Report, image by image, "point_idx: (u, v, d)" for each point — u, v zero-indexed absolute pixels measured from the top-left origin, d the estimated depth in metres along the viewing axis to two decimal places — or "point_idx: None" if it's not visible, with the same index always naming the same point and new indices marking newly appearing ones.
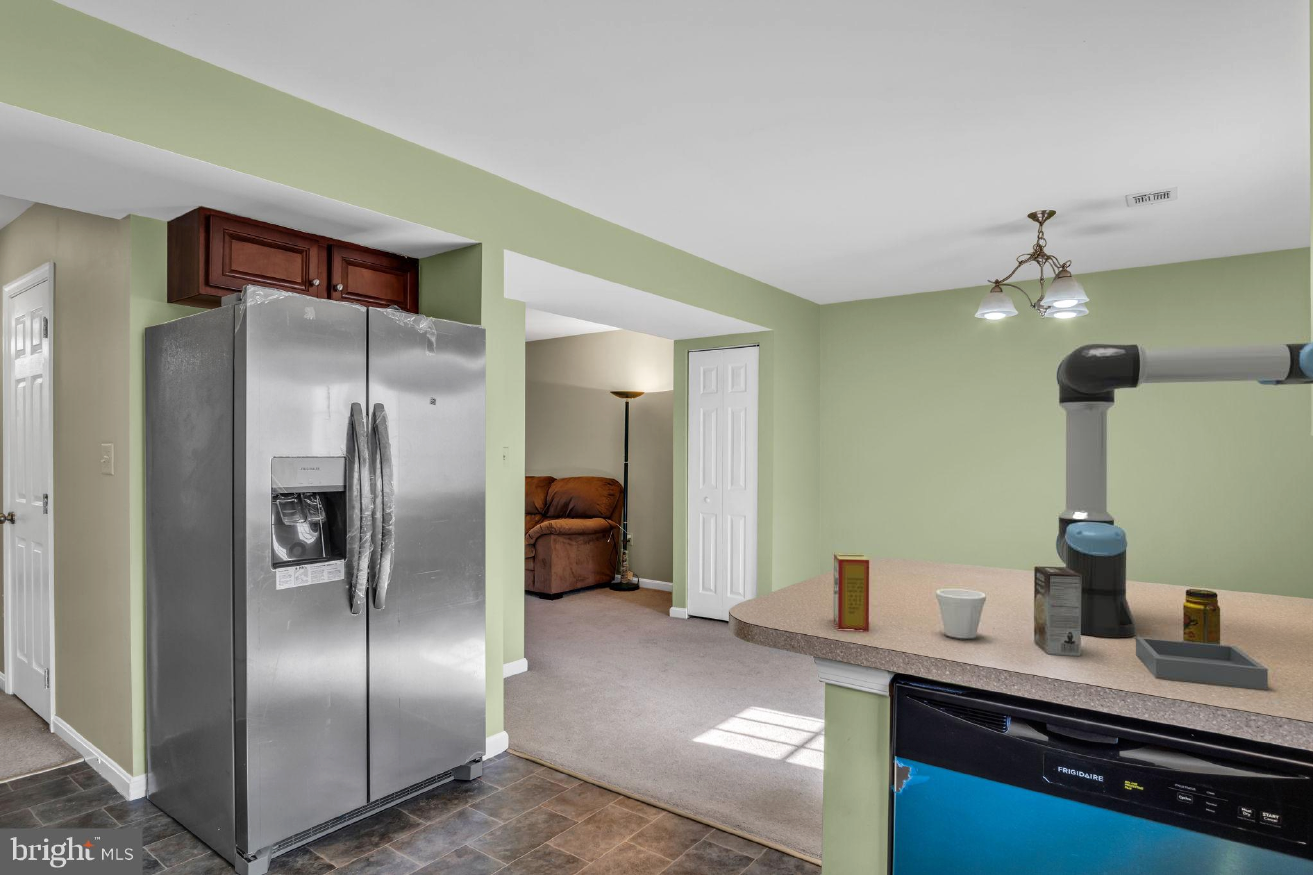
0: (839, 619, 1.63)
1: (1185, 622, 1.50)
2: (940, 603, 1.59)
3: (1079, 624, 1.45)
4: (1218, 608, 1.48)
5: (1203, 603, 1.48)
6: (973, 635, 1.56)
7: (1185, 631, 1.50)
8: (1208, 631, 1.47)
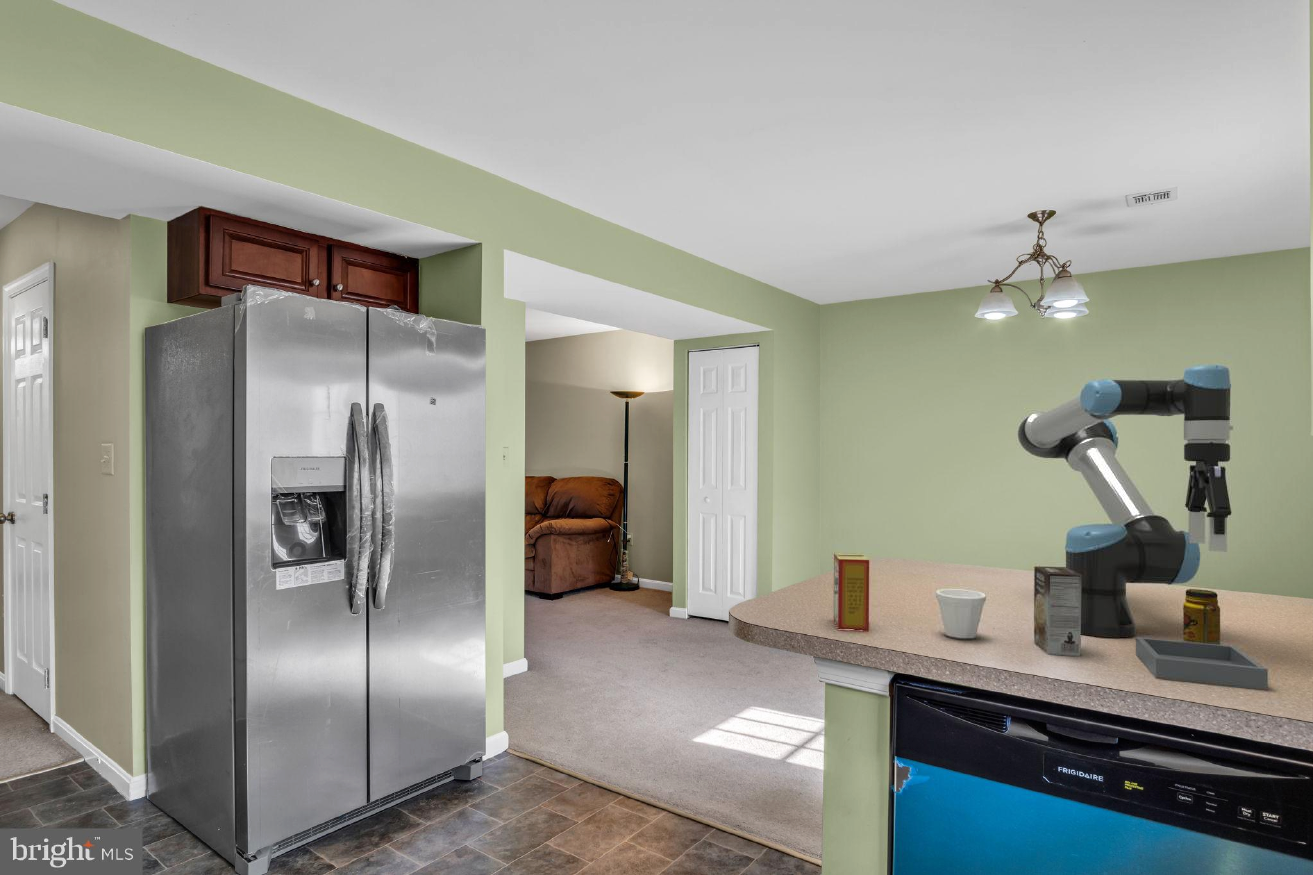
0: (839, 619, 1.63)
1: (1185, 622, 1.50)
2: (940, 603, 1.59)
3: (1079, 624, 1.45)
4: (1218, 608, 1.48)
5: (1203, 603, 1.48)
6: (973, 635, 1.56)
7: (1185, 631, 1.50)
8: (1208, 631, 1.47)
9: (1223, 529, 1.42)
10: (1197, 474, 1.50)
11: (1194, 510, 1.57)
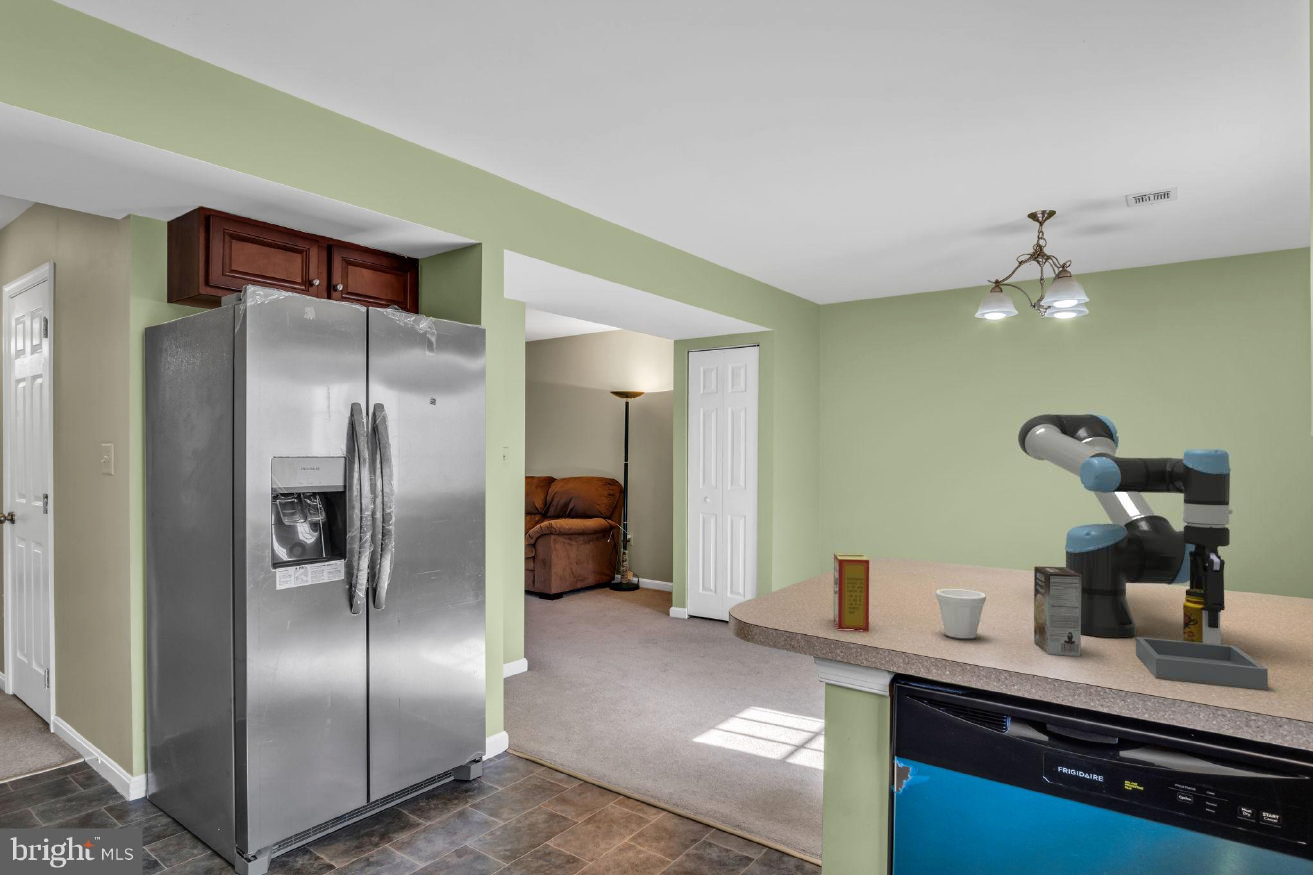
0: (839, 619, 1.63)
1: (1185, 622, 1.51)
2: (940, 603, 1.59)
3: (1079, 624, 1.45)
4: None
5: (1203, 602, 1.48)
6: (973, 635, 1.56)
7: (1185, 631, 1.51)
8: None
9: (1217, 623, 1.45)
10: (1196, 558, 1.50)
11: None
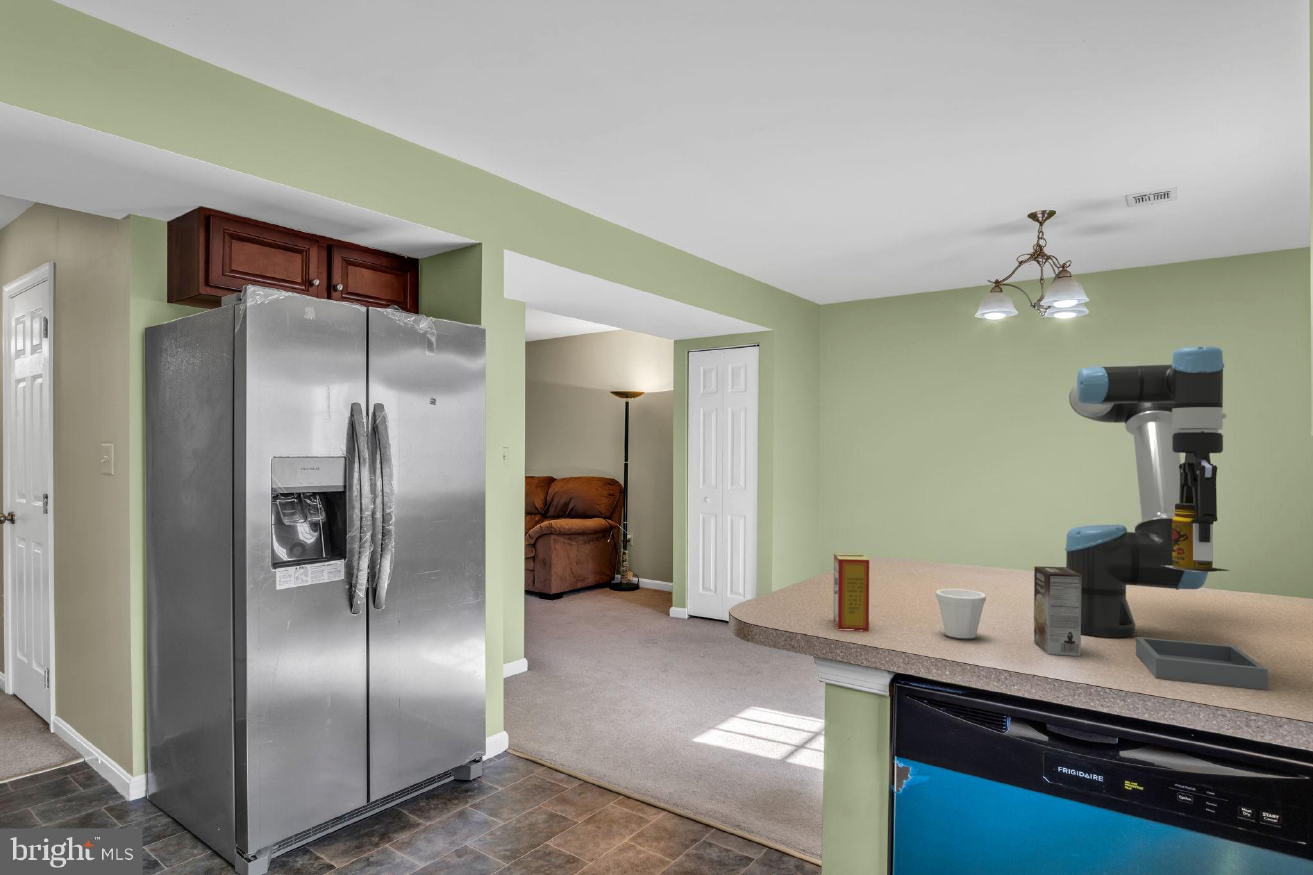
0: (839, 619, 1.63)
1: (1174, 538, 1.37)
2: (940, 603, 1.59)
3: (1079, 624, 1.45)
4: None
5: (1194, 515, 1.34)
6: (973, 635, 1.56)
7: (1174, 548, 1.37)
8: None
9: (1208, 536, 1.31)
10: (1186, 467, 1.35)
11: None
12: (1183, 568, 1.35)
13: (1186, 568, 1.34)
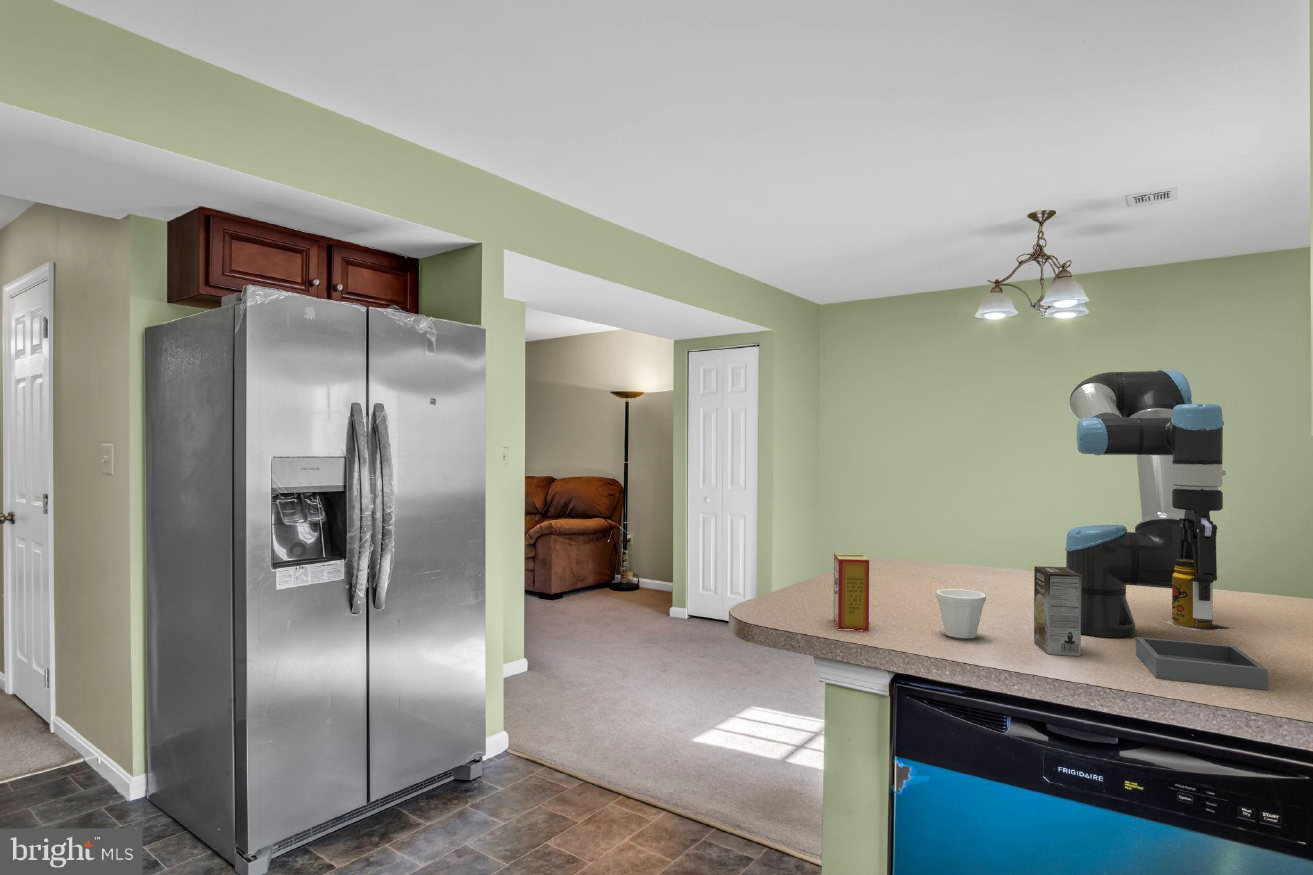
0: (839, 619, 1.63)
1: (1174, 595, 1.36)
2: (940, 603, 1.59)
3: (1079, 624, 1.45)
4: None
5: (1194, 573, 1.34)
6: (973, 635, 1.56)
7: (1174, 605, 1.36)
8: None
9: (1208, 595, 1.31)
10: (1186, 524, 1.35)
11: None
12: (1183, 625, 1.34)
13: (1186, 625, 1.34)
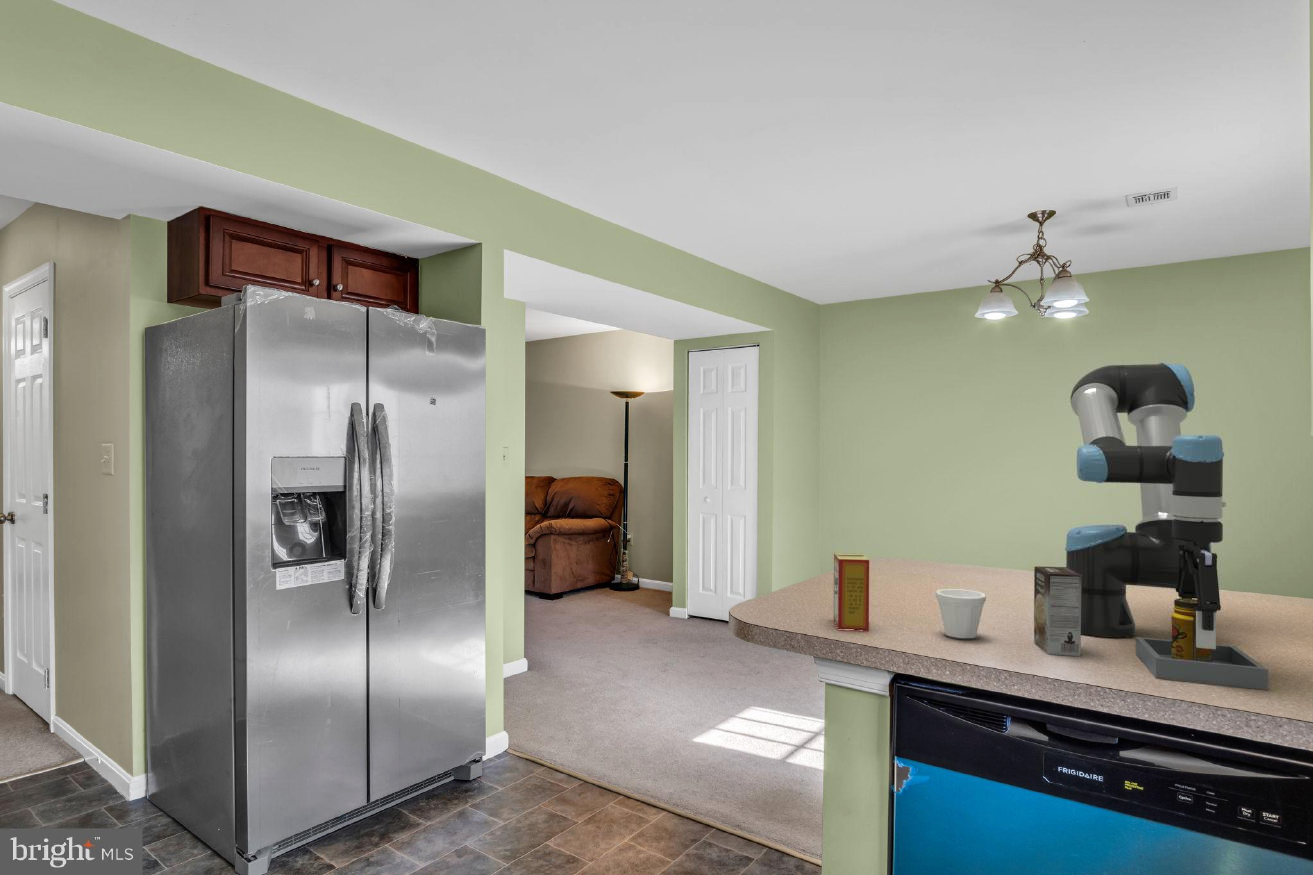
0: (839, 619, 1.63)
1: (1173, 635, 1.36)
2: (940, 603, 1.59)
3: (1079, 624, 1.45)
4: None
5: (1193, 614, 1.34)
6: (973, 635, 1.56)
7: (1173, 645, 1.36)
8: None
9: (1212, 625, 1.29)
10: (1186, 555, 1.35)
11: (1185, 597, 1.41)
12: None
13: None
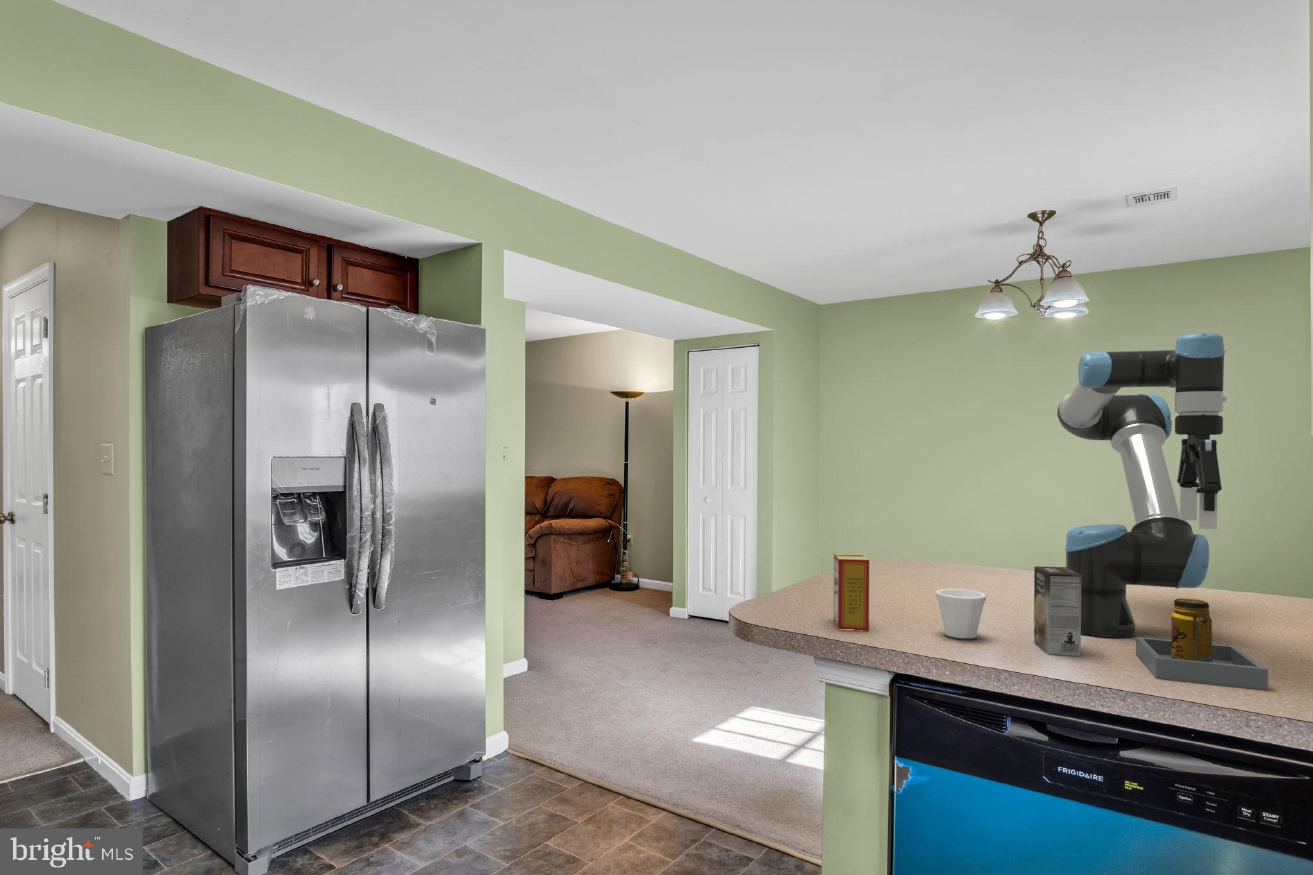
0: (839, 619, 1.63)
1: (1173, 635, 1.36)
2: (940, 603, 1.59)
3: (1079, 624, 1.45)
4: (1209, 620, 1.34)
5: (1193, 614, 1.34)
6: (973, 635, 1.56)
7: (1173, 645, 1.36)
8: (1198, 645, 1.33)
9: (1213, 505, 1.35)
10: (1188, 448, 1.43)
11: (1186, 486, 1.50)
12: None
13: None
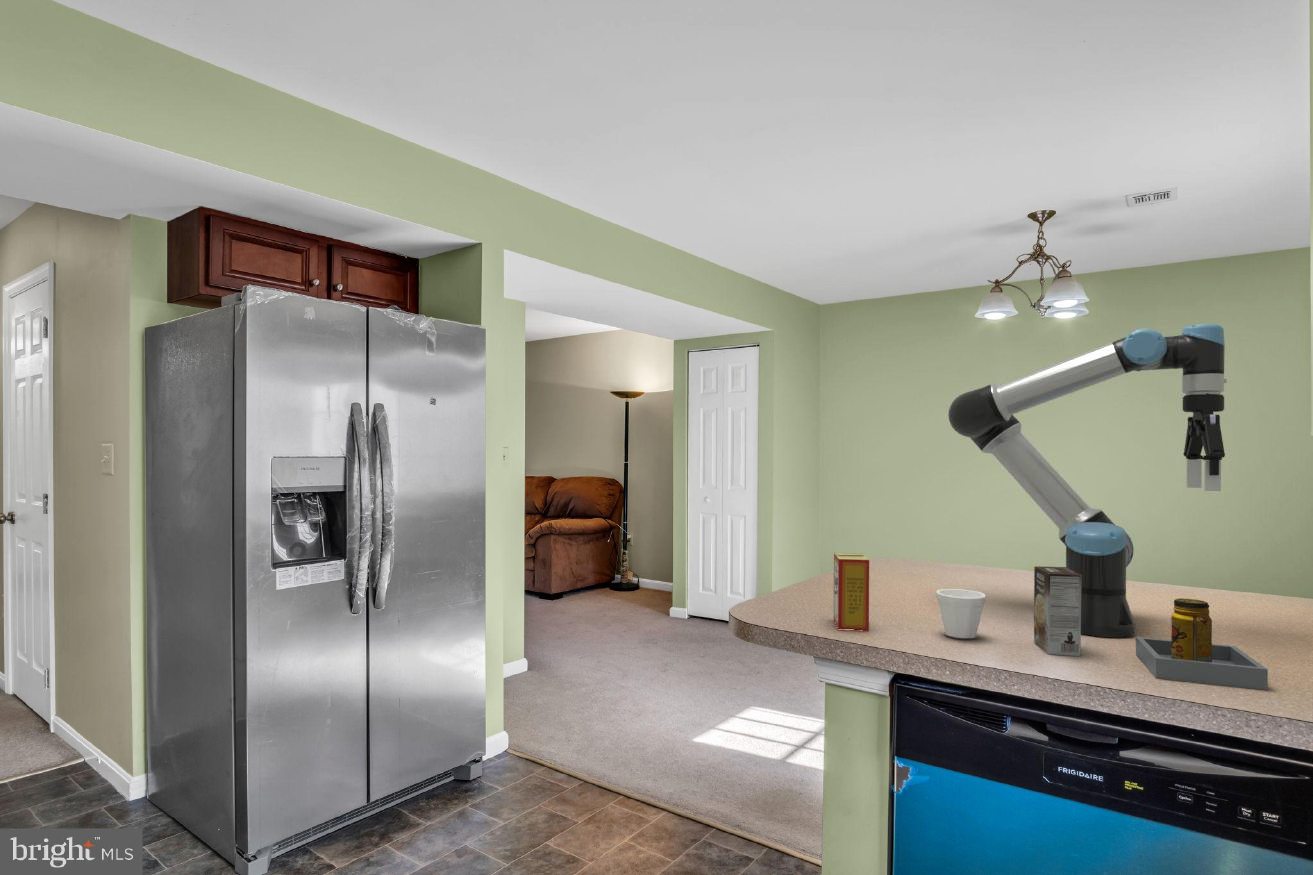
0: (839, 619, 1.63)
1: (1173, 635, 1.36)
2: (940, 603, 1.59)
3: (1079, 624, 1.45)
4: (1209, 620, 1.34)
5: (1193, 614, 1.34)
6: (973, 635, 1.56)
7: (1173, 645, 1.36)
8: (1198, 645, 1.33)
9: (1217, 470, 1.58)
10: (1194, 423, 1.65)
11: (1191, 458, 1.72)
12: None
13: None
